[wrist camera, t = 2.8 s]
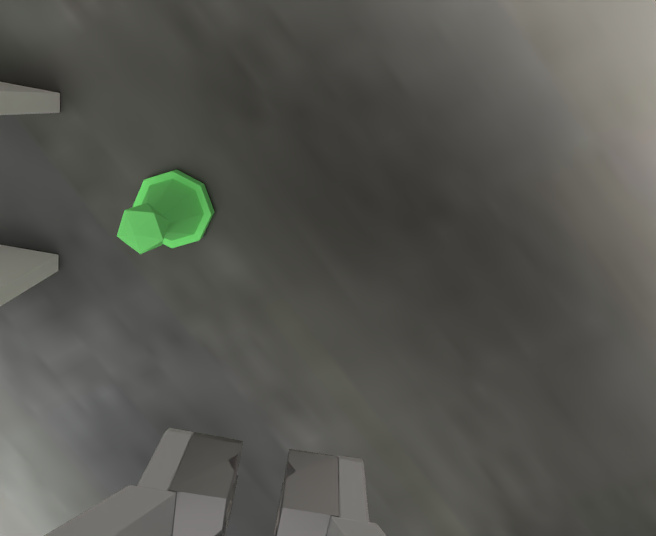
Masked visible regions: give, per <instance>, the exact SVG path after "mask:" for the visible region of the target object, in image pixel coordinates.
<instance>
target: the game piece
mask: <svg viewBox="0 0 656 536" xmlns="http://www.w3.org/2000/svg"><path fill="white" fill-rule="evenodd" d="M213 214H214V209H213V206H212V204H211V201H210V198H209V196H208V193H207V190H206V188H205V185H204V184H203V183H201V182H200V181H198V180H196V179H194V178H192V177H190V176H188V175H186V174H184V173H182V172H181V171H179V170H177V169H176V170H173V171H170V172H167V173H163V174H160V175H157V176H153V177H150V178H147V179H145V180H144V181H143V183H142V186H141V188H140V190H139V193H138V195H137V197H136V200H135V202H134V204H133V208H130V209H127V210H124V214H123V217H122V220H121V224H120V227H119V230H118V234H117V237H119V238H120V239H121V240H122V241H124V242H125V243H126V244H128V245H129V246H130V247H132V248H133V249H134V250H136V251H137V252H138V253H139V254H142V253H145V252H147V251H149V250H152V249H154V248H156V247H159V246H161V245H162V244H164V245H166V246H168V247H170V248H175V247H178V246H181V245H185V244H188V243H192V242H195V241H199V240H200V239H201V238H202V237H203V235H204V233H205V231H206V229H207V227H208V225H209V223H210V221H211V218H212V216H213Z"/></svg>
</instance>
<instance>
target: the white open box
mask: <svg viewBox="0 0 656 536" xmlns="http://www.w3.org/2000/svg"><path fill="white" fill-rule="evenodd" d="M40 113H60V93H58V92H52V91H47V90H42V89H37V88H31V87H26V86H21V85H16V84H10V83H5V82H0V115H16V114H40ZM58 261H59V255H57V254H52V253H46V252H40V251H34V250H29V249H23V248H17V247H12V246H6V245H0V306H2V305H4V304H5V303H7V302H8V301H10V300H12V299H13V298H15V297H17V296H18V295H20V294H21V293H23V292H25V291H26V290H28V289H30V288H31V287H33V286H34V285H36V284H38V283H39V282H41V281H43V280H44V279H46V278H47V277H49V276H51V275H52V274H54V273H56V272H57V271H58Z"/></svg>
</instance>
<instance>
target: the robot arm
mask: <svg viewBox="0 0 656 536" xmlns="http://www.w3.org/2000/svg"><path fill="white" fill-rule="evenodd" d="M242 445H243V441H240V440H235V439H229V438H224V437H218V436H213V435H208V434H202V433H197V432H194V433H193V432H190V431H184V430H178V429H173V428H169V429H168V430H167V431H166V432H165V433H164V435H163V437H162V439H161V441H160V443H159V444H158V446H157V448H156V450H155V452H154V454H153V456H152V458H151V460H150V462H149V464H148V466H147V468H146V470H145V472H144V474H143V476H142V478H141V479H140V481H139V483H138V485H137V486H132V485H129V486H127V487H125V488H124V489H122V490H120V491H118V492H117V493H115V494H113V495H112V496H110V497H108V498H107V499H105V500H103V501H102V502H100V503H98V504H97V505H95V506H93V507H92V508H90V509H88V510H87V511H85V512H83V513H81V514H80V515H78V516H76V517H75V518H73V519H71V520H70V521H68V522H66V523H65V524H63V525H61V526H60V527H58V528H56V529H55V530H53V531H51V532H50V533H48V534H46V535H44V536H224V535H225V529H226V527H227V526H228V522H229V518H230V514H231V510H232V505H233V500H234V495H235V490H236V484H237V478H238V475H237V471H238V467H239V463H240V459H241V452H242ZM274 534H275V536H386V535H385V533H384V532H383V531H382V530H381V528H380V527H379V526H378V525H377V524H376V523H371V522H369V516H368V504H367V493H366V482H365V471H364V462H363V460H362V459H360V458H352V457H345V456H333V455H326V454H320V453H313V452H307V451H300V450H294V449H289V453H288V458H287V463H286V469H285V476H284V482H283V483H282V489H281V495H280V500H279V506H278V511H277V518H276V525H275V532H274Z"/></svg>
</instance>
